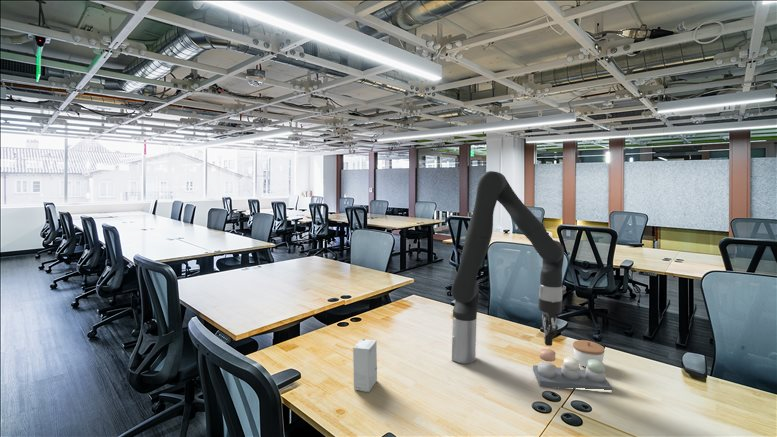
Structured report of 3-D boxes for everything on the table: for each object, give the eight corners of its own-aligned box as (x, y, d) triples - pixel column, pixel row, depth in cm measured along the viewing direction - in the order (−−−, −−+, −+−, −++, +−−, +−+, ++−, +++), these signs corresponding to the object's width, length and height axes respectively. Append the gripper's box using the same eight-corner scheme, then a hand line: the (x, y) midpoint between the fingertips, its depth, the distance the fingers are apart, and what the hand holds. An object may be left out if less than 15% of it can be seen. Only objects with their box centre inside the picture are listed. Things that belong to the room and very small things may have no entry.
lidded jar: (568, 357, 148) (569, 334, 147) (597, 360, 146) (598, 337, 145) (576, 370, 137) (577, 346, 136) (607, 373, 135) (609, 349, 134)
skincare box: (369, 393, 122) (369, 350, 120) (352, 389, 123) (352, 347, 122) (377, 380, 130) (377, 339, 128) (361, 377, 131) (361, 337, 130)
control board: (539, 386, 126) (540, 372, 126) (532, 370, 137) (533, 357, 137) (612, 393, 122) (613, 379, 122) (599, 376, 133) (600, 363, 132)
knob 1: (541, 360, 128) (542, 354, 128) (538, 354, 133) (538, 348, 133) (556, 362, 127) (557, 355, 127) (553, 355, 132) (553, 349, 132)
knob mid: (565, 370, 127) (565, 363, 127) (561, 363, 132) (561, 356, 132) (581, 371, 126) (581, 364, 126) (576, 364, 131) (576, 358, 131)
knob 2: (590, 372, 126) (590, 365, 125) (585, 365, 131) (585, 358, 130) (606, 373, 125) (606, 367, 125) (600, 366, 130) (600, 360, 129)
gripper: (534, 291, 135) (533, 336, 137) (543, 302, 122) (541, 352, 124) (556, 292, 134) (554, 338, 136) (567, 304, 121) (565, 354, 123)
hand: (548, 344), depth 130 cm, fingers closed
